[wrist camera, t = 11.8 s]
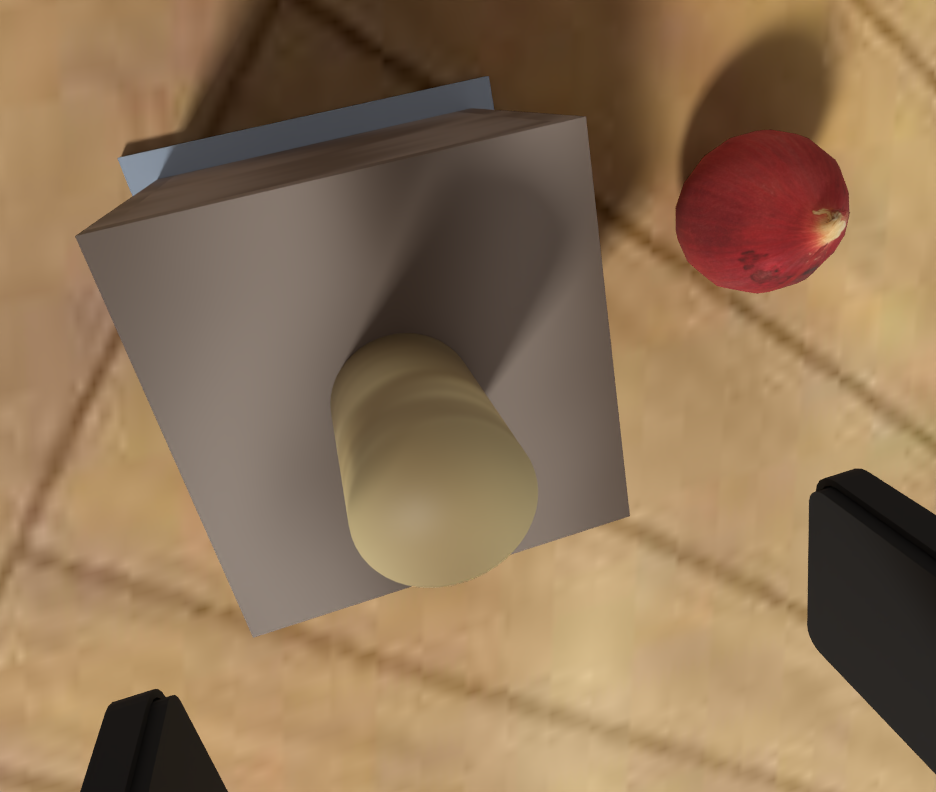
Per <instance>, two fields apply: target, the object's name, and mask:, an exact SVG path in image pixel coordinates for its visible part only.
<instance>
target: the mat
mask: <svg viewBox="0 0 936 792" xmlns="http://www.w3.org/2000/svg"><path fill="white" fill-rule="evenodd" d="M470 108H476V109H490V110H494V105H493V99H492V93H491V87H490V81H489V76H485V77H480V78H475V79H471V80H466V81H462V82H457V83H453V84H448V85H444V86H439V87H435V88H430V89H426V90H421V91H417V92H412V93H408V94H403V95H399V96H394V97H389V98H385V99H380V100H376V101H371V102H367V103H362V104H358V105H353V106H349V107H344V108H340V109H335V110H331V111H326V112H322V113H317V114H313V115H308V116H304V117H299V118H294V119H290V120H285V121H281V122H276V123H272V124H267V125H263V126H258V127H254V128H249V129H245V130H240V131H236V132H231V133H227V134H222V135H218V136H213V137H208V138H204V139H199V140H195V141H190V142H186V143H181V144H177V145H172V146H168V147H163V148H159V149H154V150H150V151H145V152H141V153H136V154H132V155H127V156H123V157H119V158H118V161H119V163H120V166H121V168H122V171H123V173H124V176H125V178H126V181H127V183H128V186H129V188H130V191H131V193H132V196H134V195H135V194H137V193H138V192H140V191H141V190H143V189H144V188H146V187H147V186H148V185H150V184H151V183H153V182H154V181H156V180H157V179H161V178H165V177H170V176H174V175H179V174H183V173H187V172H192V171H196V170H201V169H205V168H209V167H214V166H218V165H223V164H227V163H231V162H236V161H240V160H245V159H249V158H254V157H258V156H262V155H267V154H271V153H276V152H280V151H284V150H289V149H293V148H298V147H302V146H306V145H311V144H315V143H320V142H324V141H329V140H333V139H337V138H342V137H346V136H351V135H355V134H359V133H364V132H368V131H373V130H377V129H381V128H386V127H390V126H395V125H399V124H403V123H408V122H412V121H417V120H421V119H426V118H430V117H434V116H439V115H443V114H448V113H452V112H456V111H461V110H465V109H470Z"/></svg>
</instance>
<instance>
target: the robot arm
mask: <svg viewBox="0 0 936 792" xmlns="http://www.w3.org/2000/svg"><path fill="white" fill-rule="evenodd" d="M807 626H808V632H809V635H810V638H811V640H812V642H813V644H814V645H815V647H816V649H817V650H818V651H819V652H820V653H821V654H822V655H823V656H824V658H825V659H826V660H827V661H828V662H829V663H830V664H831V665H832V666H833V667H834V668H835V669H836V670H837V671H838V672H839V673H840V674H841V675H842V676H843V677H844V678H845V680H846V681H847V682H848V683H849V684H850V685H851V686H852V687H853V688H854V689H855V690H856V691H857V692H858V693H859V694H860V695H861V696H862V697H863V698H864V699H865V700H866V702H867V703H868V704H869V705H870V706H871V707H872V708H873V709H874V710H875V711H876V712H877V713H878V714H879V715H880V716H881V717H882V718H883V719H884V720H885V721H886V723H887V724H888V725H889V726H890V727H891V728H892V729H893V730H894V731H895V732H896V733H897V734H898V735H899V736H900V737H901V738H902V739H903V740H904V741H905V742H906V743H907V745H908V746H909V747H910V748H911V749H912V750H913V751H914V752H915V753H916V754H917V755H918V756H919V757H920V758H921V759H922V760H923V761H924V762H925V763H926V764H927V766H928V767H929V768H930V769H931V770H932V771H933V772H934V773H935V774H936V515H935V514H933V513H932V512H930V511H928V510H927V509H925V508H924V507H922V506H921V505H919V504H918V503H916V502H914V501H913V500H911V499H910V498H908V497H907V496H905V495H904V494H902V493H900V492H899V491H897V490H896V489H894V488H893V487H891V486H890V485H888V484H886V483H885V482H883V481H882V480H880V479H879V478H877V477H876V476H874V475H872V474H871V473H869V472H868V471H865V470H863V469H853V470H849V471H846V472H843V473H840V474H837V475H834V476H830V477H827V478H824V479H822V480H820V481H819V483H818V484H817V488H816V492H814V493H812V494H811V496H810V499H809V548H808V618H807ZM80 792H228V791H227V789H226V787H225V785H224V783H223V781H222V780H221V778H220V776H219V774H218V772H217V770H216V768H215V766H214V764H213V762H212V760H211V758H210V757H209V755H208V753H207V751H206V749H205V747H204V745H203V743H202V741H201V739H200V737H199V735H198V734H197V732H196V730H195V728H194V726H193V724H192V722H191V720H190V718H189V716H188V714H187V712H186V711H185V709H184V707H183V705H182V703H181V701H180V700H179V698H178V697H177V696H175V695H172V696H169V697H165V696H164V694H163V693H162V692H161V691H160V690H158V689H153V690H150V691H147V692H144V693H141V694H137V695H134V696H131V697H128V698H125V699H121V700H118V701H115V702H112V703H111V704H110V705H109V706H108V708H107V710H106V712H105V715H104V719H103V722H102V725H101V728H100V731H99V734H98V737H97V741H96V744H95V747H94V750H93V753H92V756H91V759H90V763H89V766H88V769H87V772H86V775H85V778H84V781H83V785H82V788H81V791H80Z"/></svg>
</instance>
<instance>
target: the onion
mask: <svg viewBox="0 0 936 792" xmlns="http://www.w3.org/2000/svg"><path fill="white" fill-rule="evenodd" d="M849 214H850V212H849V193H848V189H847V186H846V184H845V181H844V178H843V175H842V173H841V170H840V167H839V166H838V164H837V162H836V160H835V159H834V158H832V157H831V156H830V155H829V154H827V153H826V152H825V151H824V150H822V149H821V148H820V147H819V146H817V145H816V144H815V143H814V142H812V141H811V140H810V139H809V138H806V137H803V136H801V135H798V134H794V133H788V132H782V131H776V130H760V131H754V132H750V133H747V134H743V135H740V136H736V137H732V138H729V139H728V140H726V141H725V142H724V143H722V144H721V145H719V146H718V147H716V148H715V149H714V150H712V151H711V152H709V153H708V154H706V155H705V156H704V157H703V158H702V160H701V161H700V162H699V164H698V165H697V166H696V168H695V169H694V170H693V172H692V173H691V174H690V176H689V177H688V178H687V180H686V181H685V182H684V185H683V188H682V190H681V193H680V196H679V199H678V202H677V205H676V234H677V238H678V241H679V243H680V246H681V248H682V250H683V252H684V254H685V257H686V259H687V261H688V262H689V263H690V264H691V265H692V266H693V267H694V268H696V269H697V270H698V271H699V272H700V273H701V274H703V275H704V276H705V277H706V278H707V279H709V280H710V281H711V282H713V283H714V284H715V285H717V286H720V287H725V288H729V289H734V290H739V291H745V292H751V293H764V292H770V291H773V290H777V289H780V288H783V287H787V286H790V285H793V284H797V283H799V282H801V281H803V280H805V279H806V278H808V277H809V276H810V275H811V274H812V273H813V272H814V271H815V270H816V269H817V268H818V267H819V266H820V265H821V264H822V263H823V262H824V261H825V260H826V259H827V258H828V257H829V256H830V255H832V254H833V253H834V251H835V250H836V248H837V246H838V245H839V243H840V242H841V240H842V238H843V237H844V235H845V231H846V227H847V223H848V218H849Z"/></svg>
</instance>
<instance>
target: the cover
mask: <svg viewBox="0 0 936 792" xmlns="http://www.w3.org/2000/svg"><path fill="white" fill-rule="evenodd" d="M75 237H76V239H77V241H78V244H79V246H80V248H81V250H82V253H83V255H84V257H85V259H86V262H87V264H88V266H89V268H90V271H91V273H92V275H93V278H94V280H95V282H96V284H97V287H98V289H99V291H100V293H101V296H102V298H103V300H104V302H105V305H106V307H107V309H108V311H109V314H110V316H111V318H112V320H113V323H114V325H115V327H116V329H117V332H118V334H119V336H120V338H121V341H122V343H123V345H124V347H125V350H126V352H127V354H128V356H129V359H130V361H131V363H132V365H133V368H134V370H135V372H136V374H137V377H138V379H139V381H140V383H141V386H142V388H143V390H144V392H145V395H146V397H147V399H148V401H149V404H150V406H151V408H152V410H153V413H154V415H155V417H156V420H157V422H158V424H159V426H160V429H161V431H162V433H163V435H164V438H165V440H166V442H167V444H168V447H169V449H170V451H171V453H172V456H173V458H174V460H175V462H176V465H177V467H178V469H179V471H180V474H181V476H182V478H183V480H184V483H185V485H186V487H187V489H188V492H189V494H190V496H191V498H192V501H193V503H194V505H195V507H196V510H197V512H198V514H199V516H200V519H201V521H202V523H203V525H204V528H205V530H206V532H207V534H208V537H209V539H210V541H211V543H212V546H213V548H214V550H215V552H216V555H217V557H218V559H219V562H220V564H221V566H222V568H223V571H224V573H225V575H226V577H227V580H228V582H229V584H230V586H231V589H232V591H233V593H234V595H235V598H236V600H237V602H238V604H239V607H240V609H241V611H242V613H243V616H244V618H245V620H246V622H247V625H248V627H249V629H250V631H251V634H252V636H253V637H257V636H260V635H263V634H266V633H269V632H272V631H275V630H278V629H281V628H284V627H288V626H291V625H294V624H297V623H300V622H303V621H306V620H309V619H312V618H315V617H319V616H322V615H325V614H328V613H331V612H334V611H337V610H340V609H343V608H346V607H349V606H353V605H356V604H359V603H362V602H365V601H368V600H371V599H374V598H377V597H380V596H384V595H387V594H390V593H393V592H396V591H399V590H402V589H405V588H408V587H411V586H414V587H423V588H437V587H446V586H453V585H457V584H460V583H464V582H467V581H469V580H472V579H475V578H477V577H479V576H481V575H483V574H485V573H487V572H488V571H490V570H491V569H493V568H495V567H496V566H498V565H499V564H500V563H501V562H503V561H504V560H505V559H506V558H507V557H508V556H509V555H511V554H514V553H517V552H520V551H523V550H526V549H529V548H532V547H535V546H539V545H542V544H545V543H548V542H551V541H554V540H557V539H560V538H563V537H566V536H569V535H573V534H576V533H579V532H582V531H585V530H588V529H591V528H594V527H597V526H600V525H604V524H607V523H610V522H613V521H616V520H619V519H622V518H625V517H628V516H630V513H629V504H628V495H627V486H626V477H625V468H624V459H623V450H622V441H621V431H620V422H619V413H618V404H617V395H616V386H615V377H614V368H613V359H612V349H611V340H610V331H609V322H608V313H607V304H606V295H605V286H604V277H603V268H602V258H601V249H600V240H599V231H598V222H597V213H596V204H595V195H594V186H593V176H592V167H591V158H590V149H589V140H588V131H587V122H586V117H585V116H572V115H558V114H545V113H531V112H517V111H504V110H490V109H476V108H470V109H465V110H461V111H456V112H452V113H448V114H443V115H439V116H434V117H430V118H426V119H421V120H417V121H412V122H408V123H403V124H399V125H395V126H390V127H386V128H381V129H377V130H373V131H368V132H364V133H359V134H355V135H351V136H346V137H342V138H337V139H333V140H329V141H324V142H320V143H315V144H311V145H306V146H302V147H298V148H293V149H289V150H284V151H280V152H276V153H271V154H267V155H262V156H258V157H254V158H249V159H245V160H240V161H236V162H231V163H227V164H223V165H218V166H214V167H209V168H205V169H201V170H196V171H192V172H187V173H183V174H179V175H174V176H170V177H165V178H161V179H157V180H156V181H154V182H153V183H151V184H150V185H148V186H147V187H146V188H144V189H143V190H141V191H140V192H138V193H137V194H135V195H134V196H133V197H131V198H130V199H128V200H127V201H125V202H124V203H122V204H121V205H119V206H118V207H117V208H115V209H114V210H112V211H111V212H109V213H108V214H106V215H105V216H104V217H102V218H101V219H99V220H98V221H96V222H95V223H93V224H92V225H91V226H89V227H88V228H86V229H85V230H83V231H82V232H80V233H79V234H77V235H76V236H75Z"/></svg>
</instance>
